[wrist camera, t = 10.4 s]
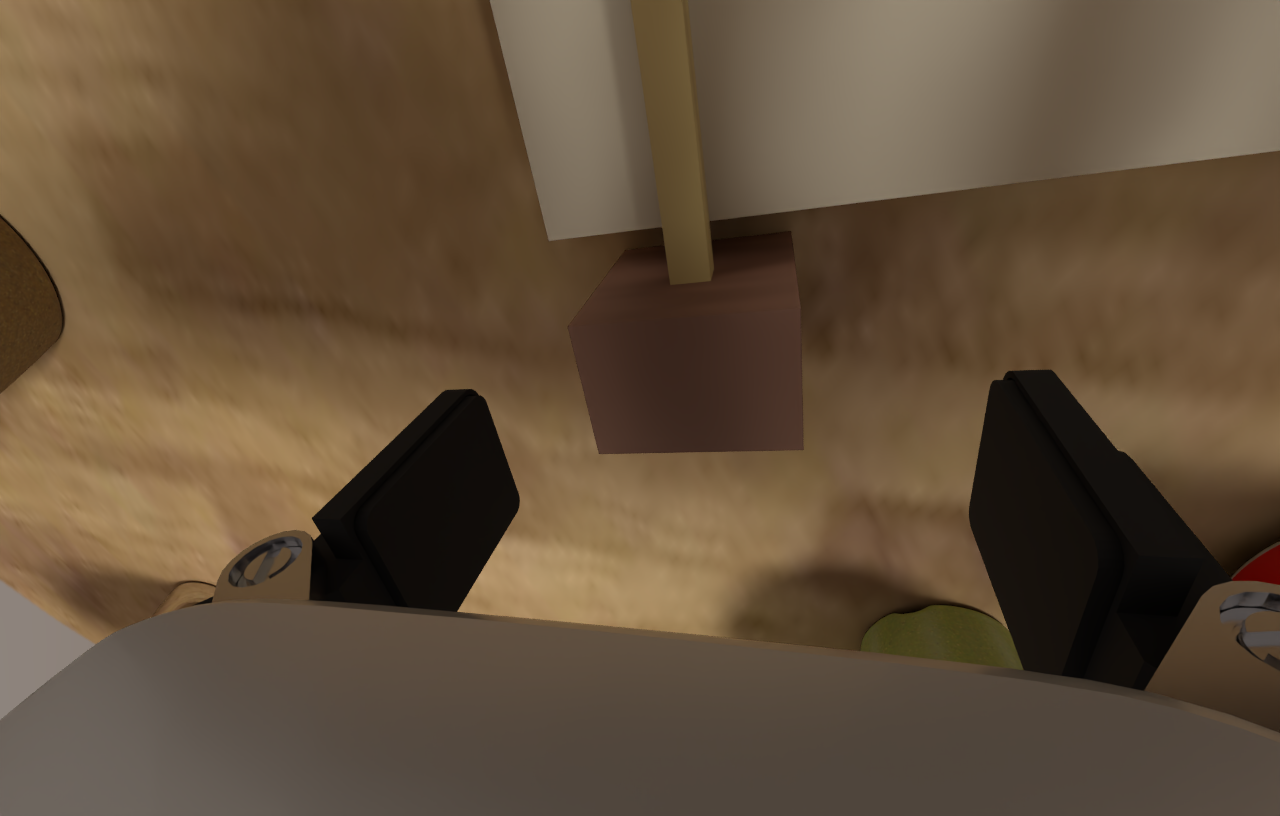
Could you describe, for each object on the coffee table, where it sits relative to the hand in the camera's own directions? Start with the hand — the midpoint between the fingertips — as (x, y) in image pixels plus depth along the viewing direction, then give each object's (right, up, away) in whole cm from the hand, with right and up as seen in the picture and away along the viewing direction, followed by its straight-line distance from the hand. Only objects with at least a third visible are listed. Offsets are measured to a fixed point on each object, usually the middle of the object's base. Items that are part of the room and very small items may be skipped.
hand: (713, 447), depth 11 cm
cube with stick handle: (0, +7, +5) cm, 9 cm away
